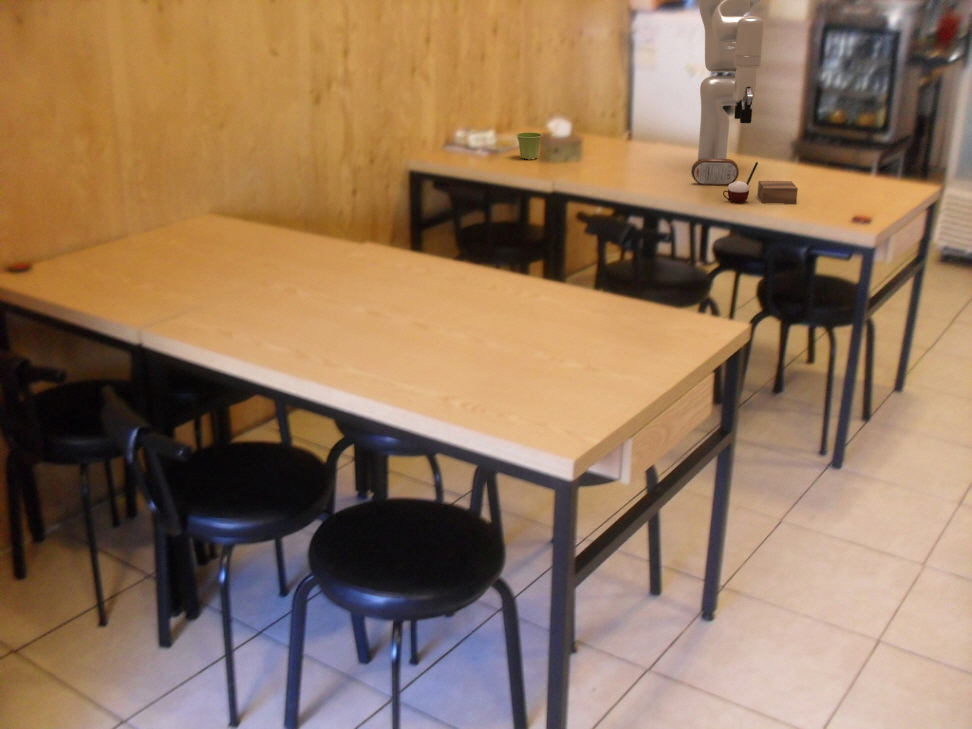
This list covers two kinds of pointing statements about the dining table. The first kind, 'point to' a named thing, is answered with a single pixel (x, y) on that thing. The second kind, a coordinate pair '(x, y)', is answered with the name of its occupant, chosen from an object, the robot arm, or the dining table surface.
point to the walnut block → (777, 192)
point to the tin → (714, 171)
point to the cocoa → (739, 189)
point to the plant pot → (529, 144)
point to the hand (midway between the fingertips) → (742, 120)
